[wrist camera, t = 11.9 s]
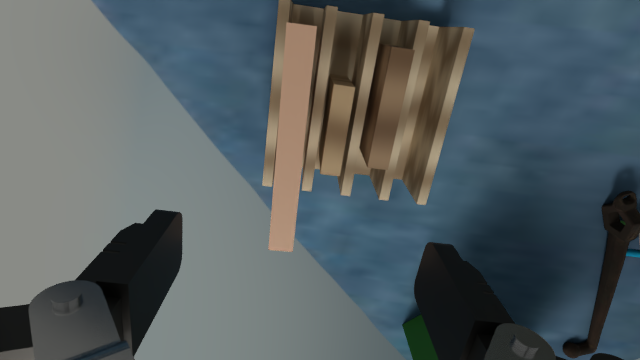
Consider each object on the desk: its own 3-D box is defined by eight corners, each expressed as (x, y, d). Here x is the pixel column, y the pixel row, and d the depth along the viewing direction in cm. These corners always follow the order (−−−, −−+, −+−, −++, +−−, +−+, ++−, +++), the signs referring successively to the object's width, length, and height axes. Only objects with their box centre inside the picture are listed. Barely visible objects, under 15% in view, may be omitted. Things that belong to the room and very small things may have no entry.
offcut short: (329, 73, 42) (334, 84, 34) (347, 76, 42) (355, 87, 34) (318, 149, 45) (320, 173, 38) (334, 151, 45) (339, 176, 38)
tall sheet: (298, 24, 40) (286, 22, 19) (313, 26, 40) (316, 26, 19) (287, 148, 45) (268, 249, 25) (300, 150, 45) (292, 251, 25)
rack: (280, 2, 40) (273, -4, 32) (447, 28, 42) (480, 29, 34) (266, 158, 47) (257, 185, 39) (410, 176, 48) (430, 205, 40)
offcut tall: (373, 41, 40) (391, 46, 31) (391, 44, 41) (414, 50, 31) (355, 138, 45) (367, 167, 35) (371, 140, 45) (387, 170, 36)
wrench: (551, 341, 63) (584, 187, 49) (580, 336, 63) (621, 181, 50) (573, 369, 58) (615, 207, 45) (604, 363, 58) (656, 200, 45)
